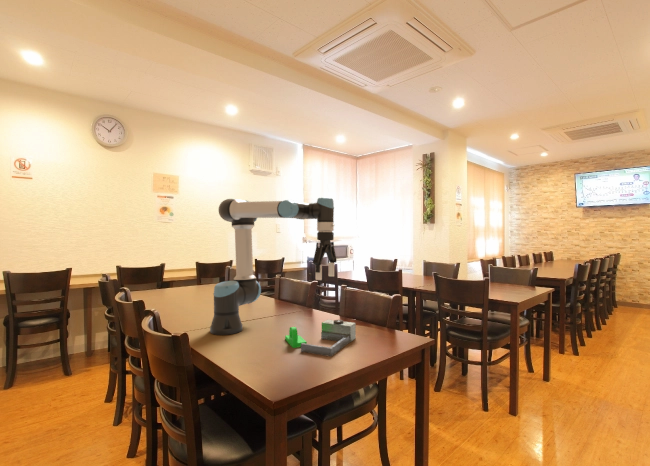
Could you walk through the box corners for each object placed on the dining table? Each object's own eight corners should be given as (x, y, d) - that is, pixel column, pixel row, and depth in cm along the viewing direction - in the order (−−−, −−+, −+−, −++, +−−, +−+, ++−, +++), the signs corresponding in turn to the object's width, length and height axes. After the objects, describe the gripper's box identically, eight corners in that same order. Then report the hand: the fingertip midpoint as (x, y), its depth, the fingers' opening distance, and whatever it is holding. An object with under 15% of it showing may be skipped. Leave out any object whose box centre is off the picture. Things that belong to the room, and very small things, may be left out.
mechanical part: (306, 346, 142) (306, 327, 142) (292, 348, 140) (292, 329, 140) (298, 338, 154) (298, 320, 154) (285, 340, 151) (285, 322, 151)
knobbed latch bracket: (300, 351, 136) (300, 331, 136) (327, 334, 159) (327, 317, 159) (332, 356, 130) (332, 336, 130) (355, 338, 153) (355, 321, 153)
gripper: (320, 231, 143) (320, 282, 143) (343, 231, 165) (343, 275, 165) (305, 231, 146) (304, 280, 146) (329, 231, 169) (329, 274, 169)
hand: (325, 278), depth 156 cm, fingers open, 13 cm apart
